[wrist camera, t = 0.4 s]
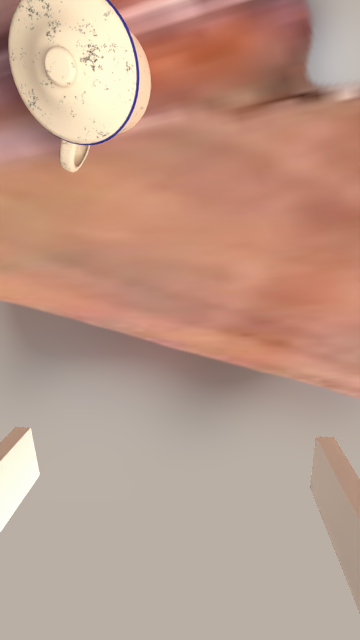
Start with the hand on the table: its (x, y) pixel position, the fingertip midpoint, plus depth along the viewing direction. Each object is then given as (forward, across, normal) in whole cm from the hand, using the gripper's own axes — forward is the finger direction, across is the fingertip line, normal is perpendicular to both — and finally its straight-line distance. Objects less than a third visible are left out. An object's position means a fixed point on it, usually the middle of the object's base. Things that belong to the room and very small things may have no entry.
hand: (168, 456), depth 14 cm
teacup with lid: (+22, -8, +22) cm, 32 cm away
